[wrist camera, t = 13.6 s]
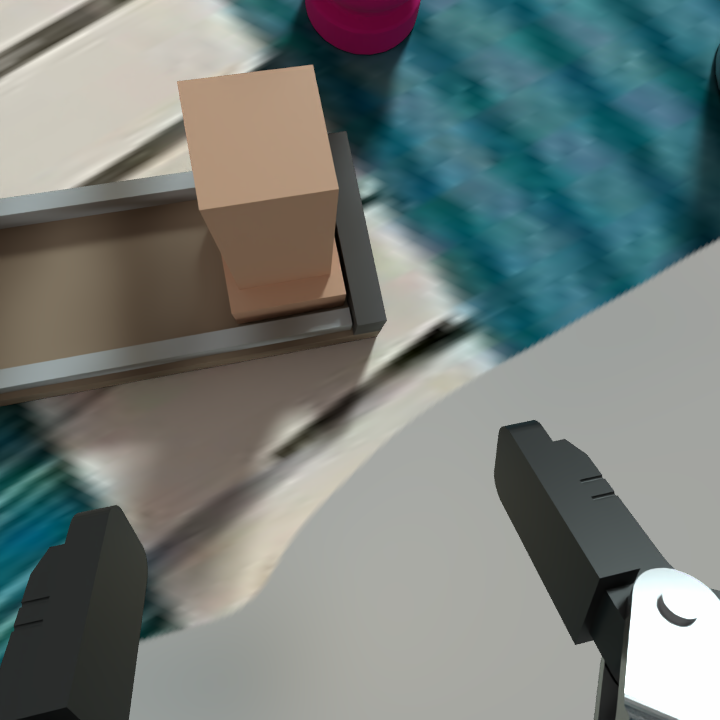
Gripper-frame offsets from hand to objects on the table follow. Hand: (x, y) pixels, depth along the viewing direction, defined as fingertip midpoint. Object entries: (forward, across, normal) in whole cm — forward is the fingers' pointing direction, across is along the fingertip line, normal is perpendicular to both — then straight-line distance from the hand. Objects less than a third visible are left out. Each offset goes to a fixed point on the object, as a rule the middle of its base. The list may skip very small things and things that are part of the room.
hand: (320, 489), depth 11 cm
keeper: (+16, 0, +2) cm, 16 cm away
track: (+17, +6, +3) cm, 18 cm away
